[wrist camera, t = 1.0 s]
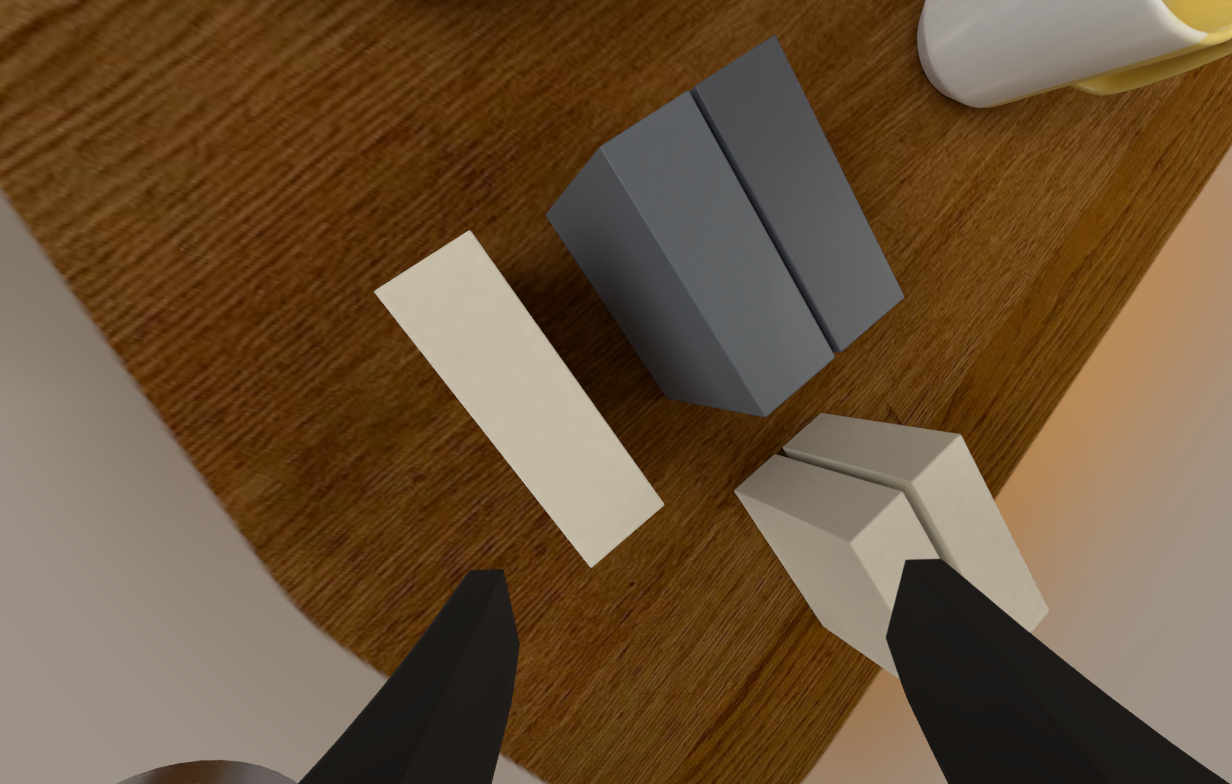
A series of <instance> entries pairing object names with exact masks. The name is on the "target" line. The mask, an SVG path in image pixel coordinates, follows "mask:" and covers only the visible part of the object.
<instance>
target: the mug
mask: <svg viewBox="0 0 1232 784" xmlns="http://www.w3.org/2000/svg"><path fill="white" fill-rule="evenodd" d="M917 47H918V54H919V59H920V62H921V65H922V68H923V70H924V72H925V74H926V76H927V78H928V79H929V81H930V82H931V84H932V85H933V86H934V87H935V88H936V89H937V90H938V91H939V92H941V93H942V94H943V95H945V96H947V97H949V98H951V99H954V100H956V101H958V102H960V103H962V104H965V105H968V106H971V107H976V108H989V107H995V106H999V105H1003V104H1007V103H1010V102H1013V101H1017V100H1020V99H1023V98H1027V97H1030V96H1033V95H1037V94H1040V93H1044V92H1048V91H1051V90H1055V89H1059V88H1062V87H1066V86H1072V87H1074V88H1076V89H1078V90H1081V91H1083V92H1086V93H1089V94H1093V95H1101V96H1104V95H1112V94H1117V93H1121V92H1125V91H1129V90H1133V89H1136V88H1139V87H1143V86H1146V85H1149V84H1152V83H1155V82H1158V81H1161V80H1164V79H1167V78H1169V77H1172V76H1175V75H1178V74H1181V73H1183V72H1186V71H1189V70H1191V69H1194V68H1197V67H1199V66H1202V65H1204V64H1207V63H1209V62H1212V61H1215V60H1217V59H1219V58H1222V57H1224V56H1226V55H1228V54H1231V53H1232V0H925V3H924V6H923V10H922V13H921V16H920V20H919V24H918V31H917Z"/></svg>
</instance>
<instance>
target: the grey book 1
mask: <svg viewBox="0 0 1232 784" xmlns="http://www.w3.org/2000/svg"><path fill="white" fill-rule="evenodd" d="M546 217H547V218H548V220H549V221H550V223H551V224H552V226H553V227H554V229H555V230H556V232H557V233H558V235H559V236H560V238H561V239H562V241H563V242H564V244H565V245H566V247H567V248H568V250H569V251H570V253H571V254H572V256H573V257H574V259H575V261H576V262H577V264H578V265H579V267H580V268H581V270H582V271H583V273H584V274H585V276H586V277H587V279H588V280H589V282H590V283H591V285H592V286H593V288H594V289H595V291H596V292H597V294H598V295H599V297H600V298H601V300H602V301H603V303H604V304H605V306H606V307H607V309H608V310H609V312H610V313H611V315H612V316H613V318H614V319H615V321H616V322H617V324H618V325H619V327H620V328H621V330H622V331H623V333H624V334H625V336H626V337H627V339H628V340H629V342H630V344H631V345H632V347H633V348H634V350H635V351H636V353H637V354H638V356H639V357H640V359H641V360H642V362H643V363H644V365H645V366H646V368H647V369H648V371H649V372H650V374H651V375H652V377H653V378H654V380H655V381H656V383H657V384H658V386H659V387H660V389H661V390H662V392H663V393H664V395H665V396H666V398H667V399H672V400H677V401H683V402H688V403H693V404H698V405H703V406H709V407H714V408H719V409H724V410H729V411H735V412H740V413H745V414H750V415H755V416H761V417H767V416H768V415H769V414H770V413H771V412H772V411H774V410H775V409H776V408H777V407H778V406H779V405H781V404H782V403H783V402H784V401H785V400H786V399H788V398H789V397H790V396H791V395H792V394H793V393H794V392H796V391H797V390H798V389H799V388H800V387H801V386H803V385H804V384H805V383H806V382H807V381H808V380H810V379H811V378H812V377H813V376H814V375H815V374H816V373H818V372H819V371H820V370H821V369H822V368H823V367H825V366H826V365H827V364H828V363H829V362H830V361H832V360H833V359H834V358H835V356H834V354H833V352H832V350H831V348H830V346H829V345H828V343H827V341H826V339H825V337H824V336H823V334H822V332H821V330H820V328H819V326H818V325H817V323H816V321H815V319H814V317H813V316H812V314H811V312H810V310H809V308H808V306H807V305H806V303H805V301H804V299H803V297H802V296H801V294H800V292H799V290H798V288H797V287H796V285H795V283H794V281H793V279H792V277H791V276H790V274H789V272H788V270H787V268H786V267H785V265H784V263H783V261H782V259H781V257H780V256H779V254H778V252H777V250H776V248H775V247H774V245H773V243H772V241H771V239H770V238H769V236H768V234H767V232H766V230H765V228H764V227H763V225H762V223H761V221H760V219H759V218H758V216H757V214H756V212H755V210H754V208H753V207H752V205H751V203H750V201H749V199H748V198H747V196H746V194H745V192H744V190H743V189H742V187H741V185H740V183H739V181H738V179H737V178H736V176H735V174H734V172H733V170H732V169H731V167H730V165H729V163H728V161H727V159H726V158H725V156H724V154H723V152H722V150H721V149H720V147H719V145H718V143H717V141H716V140H715V138H714V136H713V134H712V132H711V130H710V129H709V127H708V125H707V123H706V121H705V120H704V118H703V116H702V114H701V112H700V110H699V109H698V107H697V105H696V103H695V101H694V100H693V98H692V96H691V94H690V92H689V91H686V92H684V93H683V94H681V95H680V96H678V97H677V98H675V99H673V100H672V101H670V102H669V103H667V104H666V105H664V106H662V107H661V108H659V109H658V110H656V111H655V112H653V113H652V114H650V115H648V116H647V117H645V118H644V119H642V120H641V121H639V122H637V123H636V124H634V125H633V126H631V127H630V128H628V129H627V130H625V131H623V132H622V133H620V134H619V135H617V136H616V137H614V138H613V139H611V140H609V141H608V142H606V143H605V144H603V145H602V146H600V147H599V149H598V150H597V151H596V152H595V154H594V155H593V156H592V157H591V159H590V160H589V161H588V162H587V164H586V165H585V166H584V167H583V168H582V170H581V171H580V172H579V173H578V175H577V176H576V177H575V178H574V180H573V181H572V182H571V183H570V185H569V186H568V187H567V188H566V190H565V191H564V192H563V193H562V194H561V196H560V197H559V198H558V199H557V201H556V202H555V203H554V204H553V206H552V207H551V208H550V209H549V211H548V212H547V213H546Z"/></svg>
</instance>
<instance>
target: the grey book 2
mask: <svg viewBox="0 0 1232 784" xmlns="http://www.w3.org/2000/svg"><path fill="white" fill-rule="evenodd" d="M689 92H690V94H691V96H692V98H693V100H694V101H695V103H696V105H697V107H698V109H699V110H700V112H701V114H702V116H703V118H704V120H705V121H706V123H707V125H708V127H709V129H710V130H711V132H712V134H713V136H714V138H715V140H716V141H717V143H718V145H719V147H720V149H721V150H722V152H723V154H724V156H725V158H726V159H727V161H728V163H729V165H730V167H731V169H732V170H733V172H734V174H735V176H736V178H737V179H738V181H739V183H740V185H741V187H742V189H743V190H744V192H745V194H746V196H747V198H748V199H749V201H750V203H751V205H752V207H753V208H754V210H755V212H756V214H757V216H758V218H759V219H760V221H761V223H762V225H763V227H764V228H765V230H766V232H767V234H768V236H769V238H770V239H771V241H772V243H773V245H774V247H775V248H776V250H777V252H778V254H779V256H780V257H781V259H782V261H783V263H784V265H785V267H786V268H787V270H788V272H789V274H790V276H791V277H792V279H793V281H794V283H795V285H796V287H797V288H798V290H799V292H800V294H801V296H802V297H803V299H804V301H805V303H806V305H807V306H808V308H809V310H810V312H811V314H812V316H813V317H814V319H815V321H816V323H817V325H818V326H819V328H820V330H821V332H822V334H823V336H824V337H825V339H826V341H827V343H828V345H829V346H830V348H831V350H832V352H842V351H843V350H844V349H845V348H847V347H848V346H849V345H850V344H851V343H852V342H854V341H855V340H856V339H857V338H858V337H859V336H861V335H862V334H863V333H864V332H865V331H866V330H867V329H869V328H870V327H871V326H872V325H873V324H874V323H876V322H877V321H878V320H879V319H880V318H881V317H883V316H884V315H885V314H886V313H887V312H888V311H890V310H891V309H892V308H893V307H894V306H895V305H896V304H898V303H899V302H900V301H901V300H902V299H903V298H904V294H903V292H902V290H901V288H900V286H899V284H898V282H897V280H896V278H895V276H894V274H893V272H892V270H891V268H890V266H889V264H888V262H887V260H886V258H885V256H884V254H883V252H882V250H881V248H880V246H879V244H878V242H877V240H876V238H875V236H874V234H873V232H872V230H871V228H870V226H869V224H868V222H867V219H866V217H865V215H864V213H863V211H862V209H861V207H860V205H859V203H858V201H857V199H856V197H855V195H854V193H853V191H852V189H851V187H850V185H849V183H848V181H847V179H846V177H845V175H844V173H843V171H842V169H841V167H840V165H839V163H838V161H837V159H836V157H835V155H834V153H833V151H832V149H831V147H830V145H829V143H828V141H827V139H826V137H825V135H824V133H823V130H822V128H821V126H820V124H819V122H818V120H817V118H816V116H815V114H814V112H813V110H812V108H811V106H810V104H809V102H808V100H807V98H806V96H805V94H804V92H803V90H802V88H801V86H800V84H799V82H798V80H797V78H796V76H795V74H794V72H793V70H792V68H791V66H790V64H789V62H788V60H787V58H786V56H785V54H784V52H783V50H782V48H781V46H780V44H779V41H778V39H777V37H776V36H775V35H774V36H772V37H770V38H769V39H767V40H766V41H764V42H762V43H761V44H759V45H758V46H756V47H755V48H753V49H751V50H750V51H748V52H747V53H745V54H744V55H742V56H741V57H739V58H737V59H736V60H734V61H733V62H731V63H730V64H728V65H726V66H725V67H723V68H722V69H720V70H719V71H717V72H716V73H714V74H712V75H711V76H709V77H708V78H706V79H705V80H703V81H702V82H700V83H698V84H697V85H695V86H694V87H693V88H692V89H691V90H690V91H689Z"/></svg>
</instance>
